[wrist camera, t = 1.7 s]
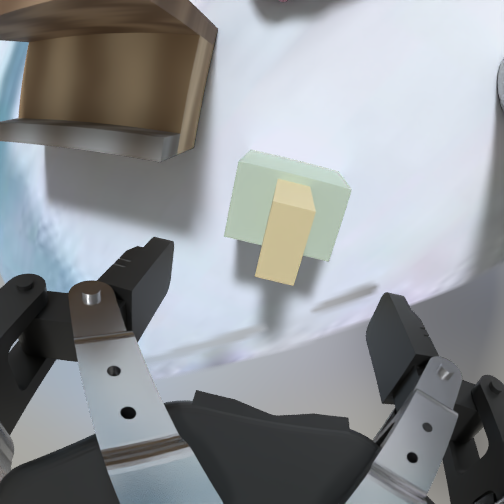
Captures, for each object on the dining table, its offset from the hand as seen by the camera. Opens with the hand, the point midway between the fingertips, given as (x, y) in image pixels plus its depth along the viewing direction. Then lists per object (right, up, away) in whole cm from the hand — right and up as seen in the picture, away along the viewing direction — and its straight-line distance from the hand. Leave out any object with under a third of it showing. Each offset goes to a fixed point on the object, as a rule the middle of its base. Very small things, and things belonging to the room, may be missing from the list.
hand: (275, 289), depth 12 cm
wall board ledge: (-12, +15, +11) cm, 23 cm away
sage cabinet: (+2, +6, +14) cm, 15 cm away
